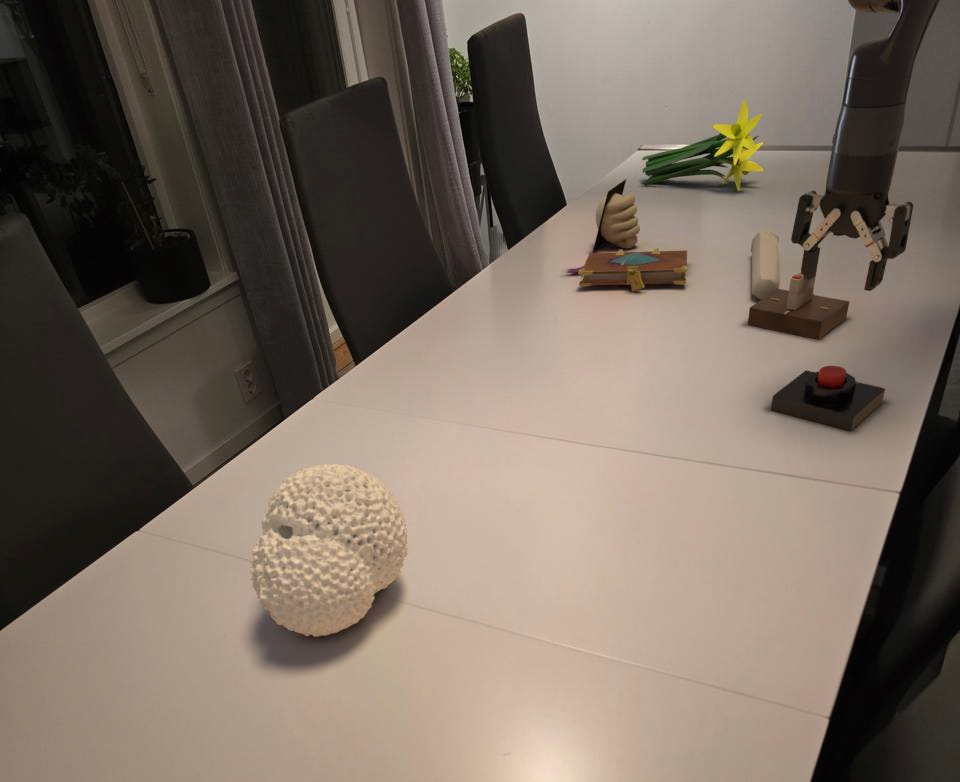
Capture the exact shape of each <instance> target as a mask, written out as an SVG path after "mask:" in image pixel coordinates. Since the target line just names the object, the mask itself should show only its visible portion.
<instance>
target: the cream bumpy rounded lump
mask: <svg viewBox="0 0 960 782" xmlns="http://www.w3.org/2000/svg"><path fill="white" fill-rule="evenodd" d="M267 504H268V505H267V507H266V508H265V509H264V513H263V515H262V519H261V525H262V526H261V529H262V532H261V533H262V535H261V536H259V539H257V540H256V541H255V545H256V546H254V547H253V549H252V550H251V554H252V559H250V563H251V569H250V574H251V581H252V588H253V590H254V591H255V592H256V595H257V598H258V599H259V603H260V604H261V605H263V609H264V610H266V611H269V616H270V617H271V619H272V620H273V621H275V623H276V624H277V625H279V626H280V625H281V626H283V627H284V628H285V629H287V630H288V631H291V632H293V631H294V633H297V634H302V635H304V636H305V637H309V636H313V637H314V638H316V637H321V636H324V637H326V636H329V635H332V634H337V633H339V632H340V631H343V630H346V629H348V628H350V627H351V626H353V625H355V624H358V623H359V621H360V620H361V619H363V618H365V615H366V614H367V613H368V611H370V609H371V608H372V606H373V602H374V600H375V594H376V593H377V592H379V591H381V590H384V589H387V588H388V586H389V585H390V584H392V583H393V581H395V580H396V579H397V576H399V574H400V573H401V572H402V571H401V569H402V568H404V561H405V558H406V557H407V556H408V555H409V550H408V549H409V547H408V546H407V544H408V528H407V527H406V526H407V524H406V523H407V522H406V518H405V517H404V514H403V511H402V509H401V508H400V504H399V502H398V501H397V500H396V498H395V497H394V495H393V494H392V492H391V491H390V490H389V489H388V488H387V487H386V485H384V484H383V482H382V481H380V479H377V478H376V477H375V476H373V475H372V474H371V473H368V472H367V471H364V470H362V469H360V468H356V467H355V466H351V465H349V464H347V465H346V464H338V463H334V464H329V463H324V464H323V465H322V466H321V465H319V464H317V465H313V466H308V467H307V468H302V469H300V470H299V471H296V472H295V473H293V474H290V475H287V478H286V479H285V480H283V481H282V484H280V485H278V488H277V489H275V491H274V493H273V495H272V496H270V497H269V501H268V503H267Z"/></svg>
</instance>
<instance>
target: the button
mask: <svg viewBox="0 0 960 782" xmlns="http://www.w3.org/2000/svg"><path fill="white" fill-rule="evenodd" d="M818 371H819V374H818V380H817V383H818V384H820V385H823V386H827V387H838V386H842V385H844V382H845V377H846V373H847V369H845V368H844V367H842V366H838V365H825V366H822V367H821V368H819V370H818Z"/></svg>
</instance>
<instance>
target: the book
mask: <svg viewBox="0 0 960 782" xmlns="http://www.w3.org/2000/svg"><path fill="white" fill-rule="evenodd" d="M687 261H688V250H687V249H685V250H660V249H659V248H654V249H653V250H652V251H624V249H618V251H617V252H591V253H589V254H588V256H587V258H586V260H585V263H584V264H583V266H580V267H577V268H568V270H569V271H568V272H567V274H575V273H577V275H579V276H583V278H582V280H580V281H579V283H578V286H580V287H589V286H616V285H617V286H620V285H621V286H622V285H623V286H624V285H626V286H627V285H629V286H630V287H631V288H630V289H631V292H635V291H639V290H641V289H644V288H645V285H663V284H664V285H665V284H666V285H667V284H674V285H684V284H687V277H685V276H686V272H688V266H687Z"/></svg>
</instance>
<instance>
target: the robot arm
mask: <svg viewBox="0 0 960 782" xmlns="http://www.w3.org/2000/svg"><path fill="white" fill-rule="evenodd" d="M847 2H848V4H849V5H850V7H851V8H852V9H854V10H855V11H858V12H860V13H865V14H890V13H891V14H896V13H897V18H896V20H895V22H894V24H893V26H892V28H891V29H890V31H889V32H888V33H887V35H885V36H881V37H880V36H879V37H876V38H871V39H867V40H865V41H862V42H861V43H859V44H857V45H856V46H855V47H854V48H853V50H852V52H851V54H850V57H849V61H848V67H847V71H846V72H847V73H846V77H845V83H844V90H843V95H842V102H841V106H840V110H839V112H838V113H839V114H838V116H837V120H836V125H835V130H834V134H833V136H832V141H831V142H832V143H831V144H832V147H831V153H830V158H829V165H828V170H827V174H826V175H827V176H826V182H825V192H824V194H819V193H818V192H817V191H816V190H810V191H808V192H806V193H804V194H802V195H800V197H799V198H798V203H797V209H796V213H795V218H794V221H793V227H792V232H791V238H790V241H791V243H792V244H794V245H796V244H797V245H799V246H801V247H802V248H803V255H802V261H801V268H800V272H801V274H803V275H804V276H803V279H805V280H810V279H812V278H813V277H815V275H816V276H817V272H816V271H818V265H819V259H820V253H821V247H819V245H820V244H821V243H822V242H823V241H824V240H825V238H826V237H827V236H828V235H830V234H831V233H832V235H833V236H836V237H841V236H845V237H847V238H850V239H858V238H860V239H861V242H862V244H863V246H864V247H865V248H867V250H868V252H869V254H870V257H871V259H872V260H870V261H869V265H868V269H867V274H866V278H865V284H864V288H863V289H864V291H866V292H871V291H873V290H875V289H876V288H877V286H879V285H881V283H882V282H883V280H884V275H885V270H886V266H887V262H888V260H893V259H896V258H897V257H899V256H901V254H903V253H904V252H905V251H906V249H907V243H908V237H909V233H910V227H911V222H912V215H913V210H914V204H913V202H912V201H906V202H904V203H890V200H889V192H890V189H891V186H892V181H893V177H894V172H895V167H896V162H897V158H898V153H899V149H900V143H901V140H902V136H903V135H902V134H903V132H904V131H903V130H904V126H905V119H906V118H905V117H906V106H907V100H908V96H909V92H910V87H911V83H912V78H913V72H914V69H915V64H916V60H917V57H918V55H919V52H920V50H921V47H922V45H923V42H924V39H925V38H926V35H927V33H928V31H929V28H930V25H931V23H932V21H933V19H934V16H935V14H936V12H937V10H938V7H939V6H940V4H941V2H942V0H847ZM818 208H820V211H821V213H822V216H823V218H824V219H823V220H822V222H820V223H819V225H817V227H816V228H815V229H814V230H813V231H812V233H810V230H811V225H812V221H813V217H814V212H816V211H817V210H818ZM886 215H887V216H888V221H889V223H890V224H891V230H890V237H889V242H888V241H887V238H886V232H885V229H884V227H883V225H882V222H881V220H882V219H883V218H884V217H885V216H886Z"/></svg>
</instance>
